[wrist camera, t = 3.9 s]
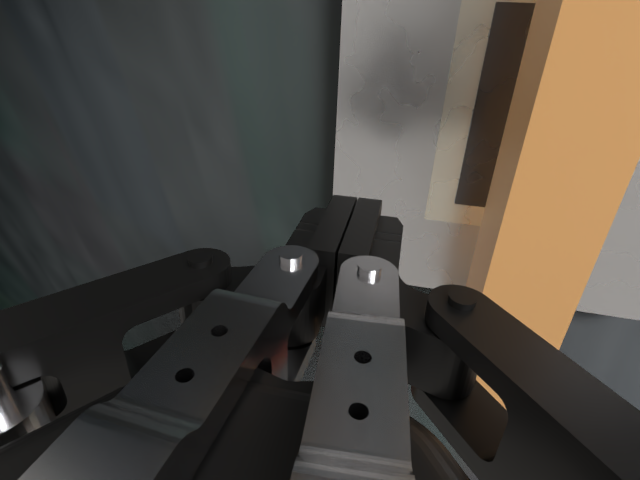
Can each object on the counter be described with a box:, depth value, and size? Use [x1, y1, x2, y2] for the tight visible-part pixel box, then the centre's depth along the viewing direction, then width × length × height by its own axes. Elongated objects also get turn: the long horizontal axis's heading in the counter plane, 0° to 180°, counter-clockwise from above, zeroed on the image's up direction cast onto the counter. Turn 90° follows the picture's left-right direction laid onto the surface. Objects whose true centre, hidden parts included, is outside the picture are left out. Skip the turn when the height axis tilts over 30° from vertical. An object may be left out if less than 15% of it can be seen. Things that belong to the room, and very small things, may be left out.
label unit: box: [333, 0, 640, 320], centre depth 18 cm, size 18×16×2 cm
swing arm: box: [466, 0, 640, 409], centre depth 12 cm, size 28×4×3 cm, turn 178°
